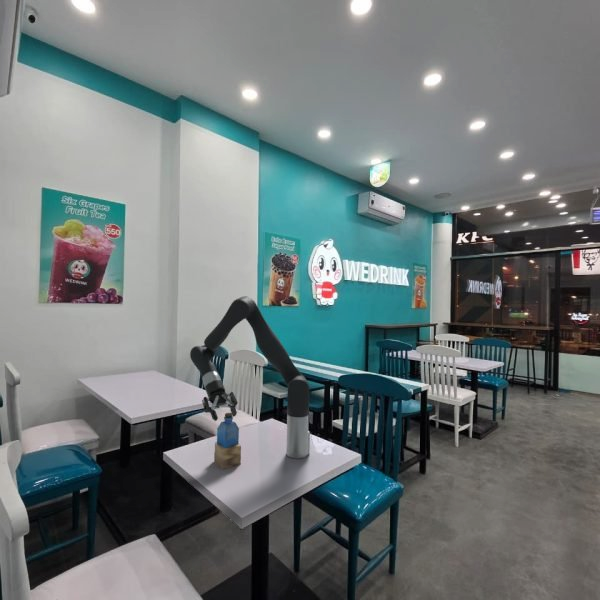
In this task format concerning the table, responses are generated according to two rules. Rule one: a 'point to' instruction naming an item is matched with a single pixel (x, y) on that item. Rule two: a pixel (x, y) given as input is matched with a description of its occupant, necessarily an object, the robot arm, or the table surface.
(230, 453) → the tower top block
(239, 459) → the tower bottom block
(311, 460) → the table surface
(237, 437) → the perfume bottle
